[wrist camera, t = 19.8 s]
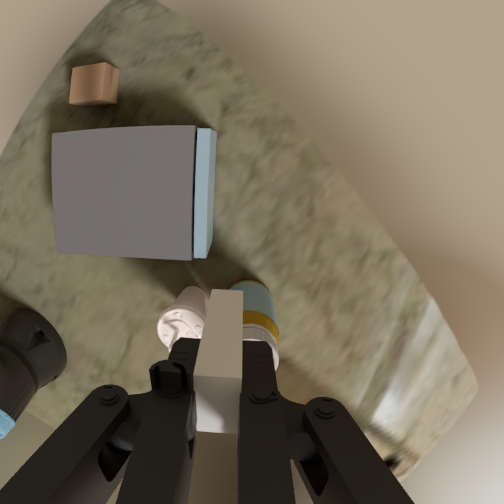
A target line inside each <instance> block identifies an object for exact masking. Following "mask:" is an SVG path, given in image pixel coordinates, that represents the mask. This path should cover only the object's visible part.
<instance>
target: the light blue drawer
mask: <svg viewBox="0 0 504 504" xmlns="http://www.w3.org/2000/svg"><path fill="white" fill-rule="evenodd" d="M216 139H217V132H215V131H214V130H212V129H211V128H198V132H197V140H196V141H195V163H194V180H195V196H194V199H193V236H194V258H206V257H207V254H208V252H209V249H210V246H211V243H212V238H213V206H214V180H215V159H216Z"/></svg>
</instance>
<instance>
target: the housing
mask: <svg viewBox="0 0 504 504" xmlns="http://www.w3.org/2000/svg"><path fill="white" fill-rule="evenodd" d="M198 128H199V127H197V126H195V125H165V126H134V127H115V128H101V129H89V130H78V131H69V132H60V133H52V202H53V218H54V230H55V241H56V250H57V253H70V254H86V255H102V256H118V257H135V258H152V259H170V260H188V261H191V260H192V258H193V256H194V236H193V191H194V163H195V141H196V140H197V132H198Z"/></svg>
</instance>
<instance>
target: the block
mask: <svg viewBox="0 0 504 504" xmlns="http://www.w3.org/2000/svg"><path fill="white" fill-rule="evenodd" d="M119 75H120V70H119V69H117V68H115V67H113V66H112V65H110V64H108V63H107V62H104V63H97V64H91V65H85V66H79V67H74V68H73V70H72V78H71V87H70V98H69V104H74V105H78V106H83V107H91V106H100V105H111V104H117V96H118V85H119Z"/></svg>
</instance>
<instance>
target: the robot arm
mask: <svg viewBox="0 0 504 504" xmlns="http://www.w3.org/2000/svg"><path fill="white" fill-rule="evenodd" d="M242 338H243V291H241V290H222V289H212V292H211V296H210V300H209V305H208V309H207V314H206V318H205V323H204V327H203V332H202V336H201V339H199V338H186V337H180V338H179V339H178V340H177V341H175V342H174V343H173V346H172V348H171V353H170V354H169V357H168V360H163V361H159V362H157V363H155V364H153V365H152V366H151V368H150V369H149V373H150V379H151V386H152V390H151V391H149V392H147V393H142V394H134V395H128V393H127V392H126V391H125V389H124V388H122V387H120V386H117V385H112V384H111V385H103V386H100V387H97V388H96V389H95V390H93V391H92V392H91V393H90V394H89V395H88V396H87V397H86V398H85V400H84V401H83V402H82V403H81V404H80V405H79V406H78V407H77V408H76V409H75V410H74V411H73V412H72V413H71V414H70V415H69V416H68V417H67V419H66V420H65V421H64V422H63V423H62V424H61V425H60V426H59V427H58V428H57V429H56V430H55V431H54V432H53V433H52V435H51V436H50V437H49V438H48V439H47V440H46V441H45V442H44V443H43V444H42V445H41V446H40V447H39V449H38V450H37V451H36V452H35V453H34V454H33V455H32V456H31V457H30V458H29V459H28V460H27V461H26V462H25V464H24V465H23V466H22V467H21V468H20V469H19V470H18V471H17V472H16V473H15V475H14V476H13V477H12V478H11V479H10V480H9V481H8V482H7V483H6V484H5V486H4V487H3V488H2V489H1V490H0V504H106V502H107V501H108V500H109V498H110V496H111V495H112V493H113V492H114V490H115V489H116V487H117V486H118V484H119V483H120V481H121V480H122V478H123V481H122V484H121V487H120V491H119V494H118V498H117V501H116V504H188V498H189V490H190V482H191V474H192V467H193V460H194V451H195V445H196V438H195V431H196V425H197V431H205V432H219V433H238V447H237V450H238V451H237V504H295V495H294V487H293V479H292V472H291V464H290V459H293V460H294V464H295V466H296V468H297V470H298V472H299V474H300V476H301V478H302V480H303V482H304V484H305V486H306V489H307V490H308V493H309V495H310V497H311V499H312V501H313V503H314V504H414V502H413V501H412V500H411V498H410V497H409V496H408V494H407V493H406V492H405V490H404V489H403V487H402V486H401V484H400V483H399V482H398V480H397V479H396V478H395V476H394V475H393V474H392V472H391V471H390V469H389V468H388V467H387V465H386V464H385V462H384V461H383V460H382V458H381V457H380V456H379V454H378V453H377V451H376V450H375V449H374V447H373V446H372V444H371V443H370V442H369V440H368V439H367V438H366V436H365V435H364V433H363V432H362V431H361V429H360V428H359V426H358V425H357V424H356V422H355V421H354V419H353V418H352V417H351V415H350V414H349V412H348V411H347V410H346V408H345V407H344V406H343V405H342V404H341V403H340V402H339V401H337V400H335V399H333V398H328V397H317V398H314V399H312V400H310V401H309V402H308V403H307V404H306V405H304V404H299V403H295V402H292V401H289V400H287V399H285V398H284V397H283V396H282V395H281V394H280V392H279V391H278V388H277V382H276V374H275V366H274V358H273V350H272V347H271V346H270V345H269V344H268V343H267V341H250V340H242ZM66 363H67V355H66V350H65V347H64V344H63V342H62V340H61V338H60V336H59V335H58V333H57V332H56V331H55V329H54V328H53V327H52V326H51V325H50V324H49V323H48V322H47V321H46V320H45V319H44V318H43V317H41V316H40V315H39V314H37V313H35V312H33V311H31V310H28V309H16V310H14V311H12V312H11V313H10V314H9V315H8V316H6V317H5V319H4V320H3V322H2V324H1V328H0V439H2V438H4V437H5V436H6V434H7V433H8V432H9V431H10V430H11V428H12V427H14V426H15V423H16V421H17V420H18V418H19V417H20V415H21V414H22V412H23V411H24V409H25V408H26V406H27V405H28V403H29V402H30V400H31V399H32V397H33V396H34V394H35V393H36V392H37V390H38V389H40V388H41V387H43V386H45V385H47V384H48V383H50V382H51V381H54V380H55V379H57V378H58V377H59V376H60V375H61V373H62V372H63V370H64V369H65V367H66Z"/></svg>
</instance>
